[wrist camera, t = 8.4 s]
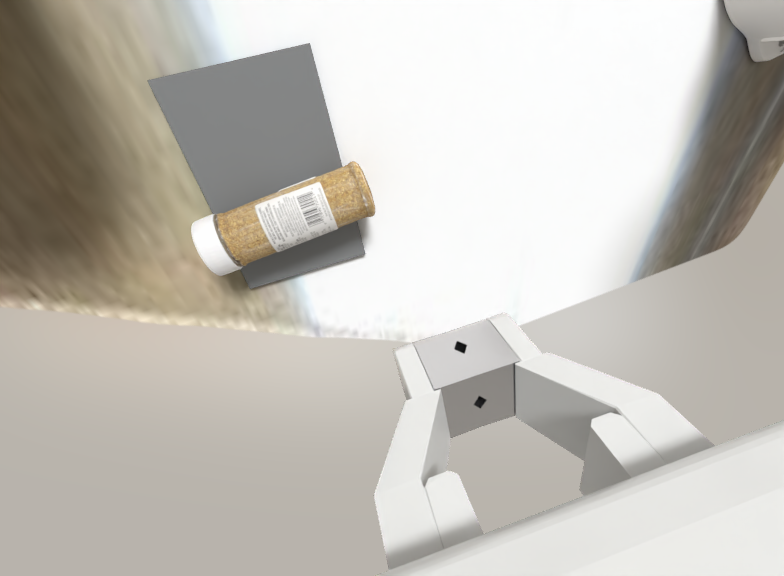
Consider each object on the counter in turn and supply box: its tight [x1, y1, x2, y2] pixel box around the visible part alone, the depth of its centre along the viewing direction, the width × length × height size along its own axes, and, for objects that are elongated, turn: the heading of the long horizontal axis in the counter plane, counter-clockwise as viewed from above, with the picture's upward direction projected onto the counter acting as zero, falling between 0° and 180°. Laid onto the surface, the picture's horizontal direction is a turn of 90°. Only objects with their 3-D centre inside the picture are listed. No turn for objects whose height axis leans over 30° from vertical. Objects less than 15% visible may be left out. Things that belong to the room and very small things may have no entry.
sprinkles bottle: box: [191, 162, 375, 276], centre depth 30 cm, size 5×5×14 cm
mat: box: [148, 43, 365, 289], centre depth 30 cm, size 11×17×1 cm, turn 11°
